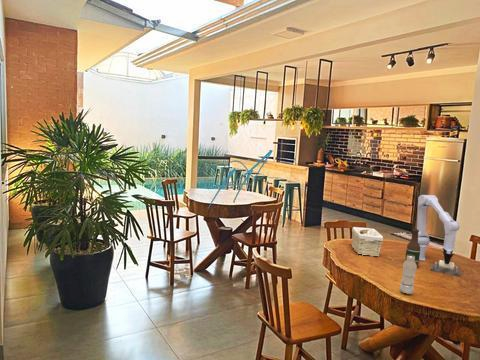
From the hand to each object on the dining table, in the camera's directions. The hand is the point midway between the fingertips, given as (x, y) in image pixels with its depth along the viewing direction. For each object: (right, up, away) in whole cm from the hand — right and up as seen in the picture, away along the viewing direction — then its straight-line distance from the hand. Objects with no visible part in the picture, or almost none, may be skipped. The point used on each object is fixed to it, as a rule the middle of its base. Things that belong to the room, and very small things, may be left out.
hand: (446, 262), depth 225 cm
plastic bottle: (-42, -8, -38) cm, 57 cm away
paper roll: (0, -5, +1) cm, 5 cm away
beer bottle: (-19, -4, +5) cm, 20 cm away
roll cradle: (0, -6, +1) cm, 6 cm away
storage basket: (-40, 0, +30) cm, 50 cm away
